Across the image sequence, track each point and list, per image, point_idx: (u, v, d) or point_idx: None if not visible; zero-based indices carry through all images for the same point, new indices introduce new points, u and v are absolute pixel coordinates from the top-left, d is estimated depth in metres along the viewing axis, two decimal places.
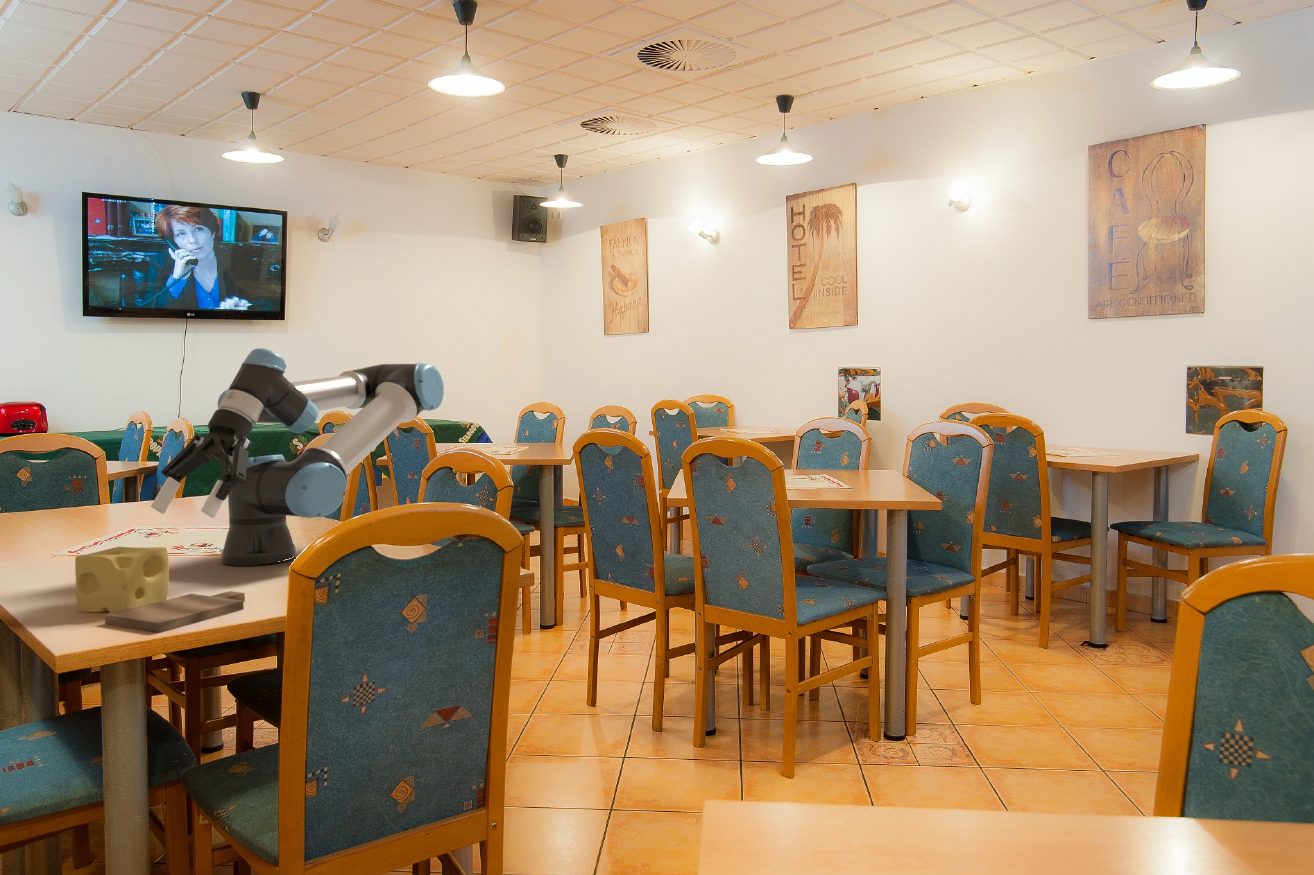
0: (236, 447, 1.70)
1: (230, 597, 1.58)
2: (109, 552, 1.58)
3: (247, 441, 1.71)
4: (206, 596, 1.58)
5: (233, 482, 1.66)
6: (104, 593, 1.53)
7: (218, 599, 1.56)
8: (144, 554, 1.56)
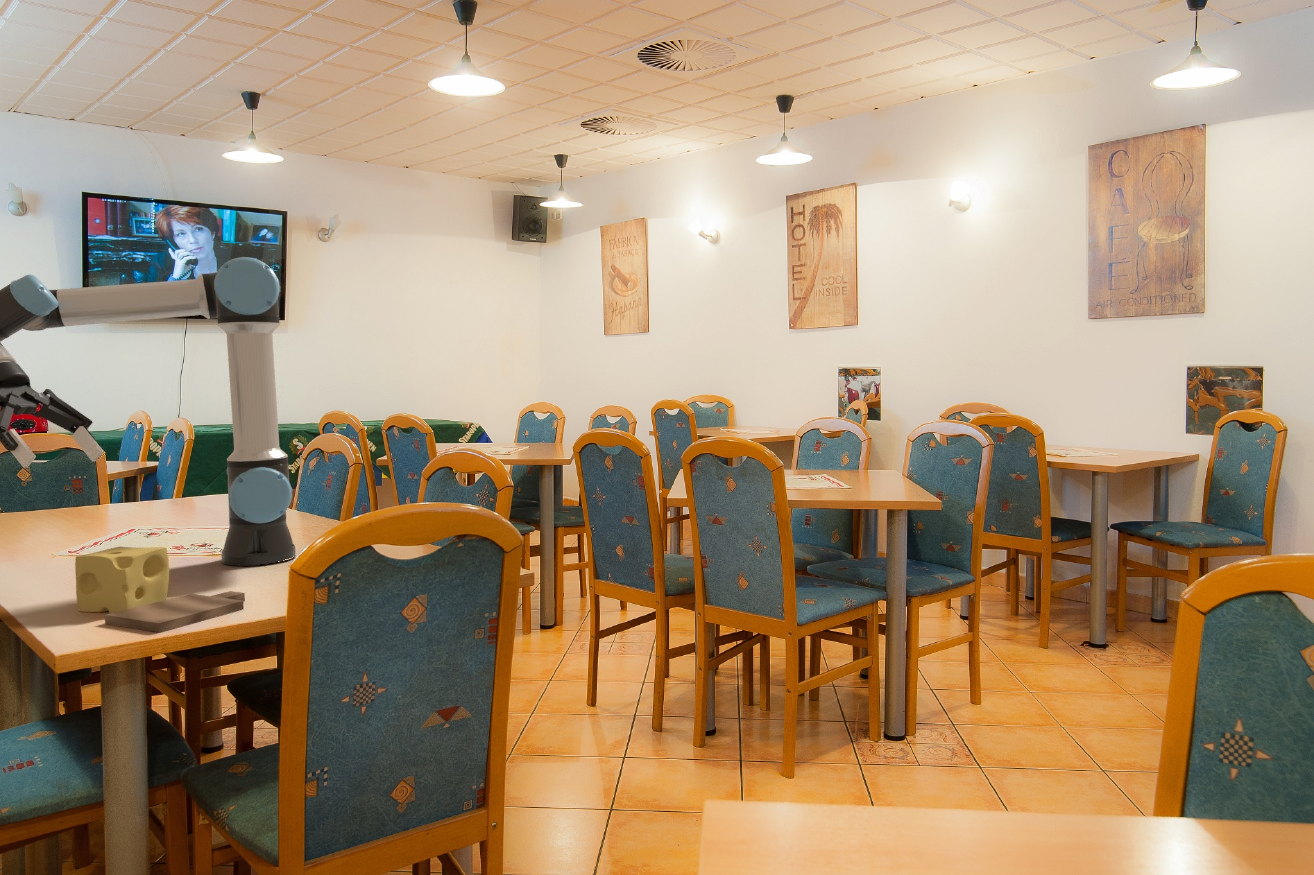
0: None
1: (230, 597, 1.58)
2: (109, 552, 1.58)
3: None
4: (206, 596, 1.58)
5: None
6: (104, 592, 1.53)
7: (218, 599, 1.56)
8: (144, 554, 1.56)
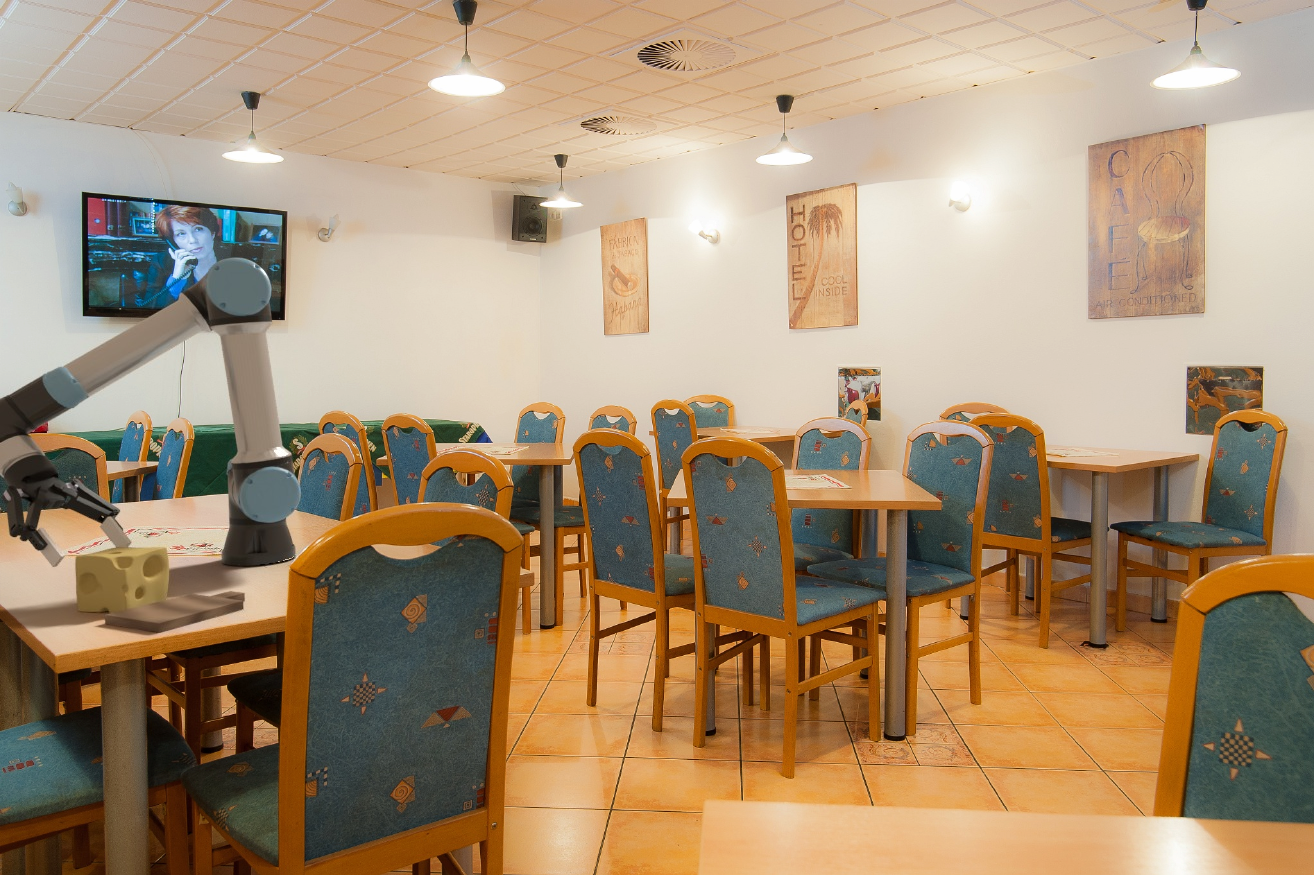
0: None
1: (230, 597, 1.58)
2: (109, 552, 1.58)
3: (5, 493, 1.53)
4: (206, 596, 1.58)
5: (24, 532, 1.50)
6: (104, 592, 1.53)
7: (218, 599, 1.56)
8: (144, 554, 1.56)
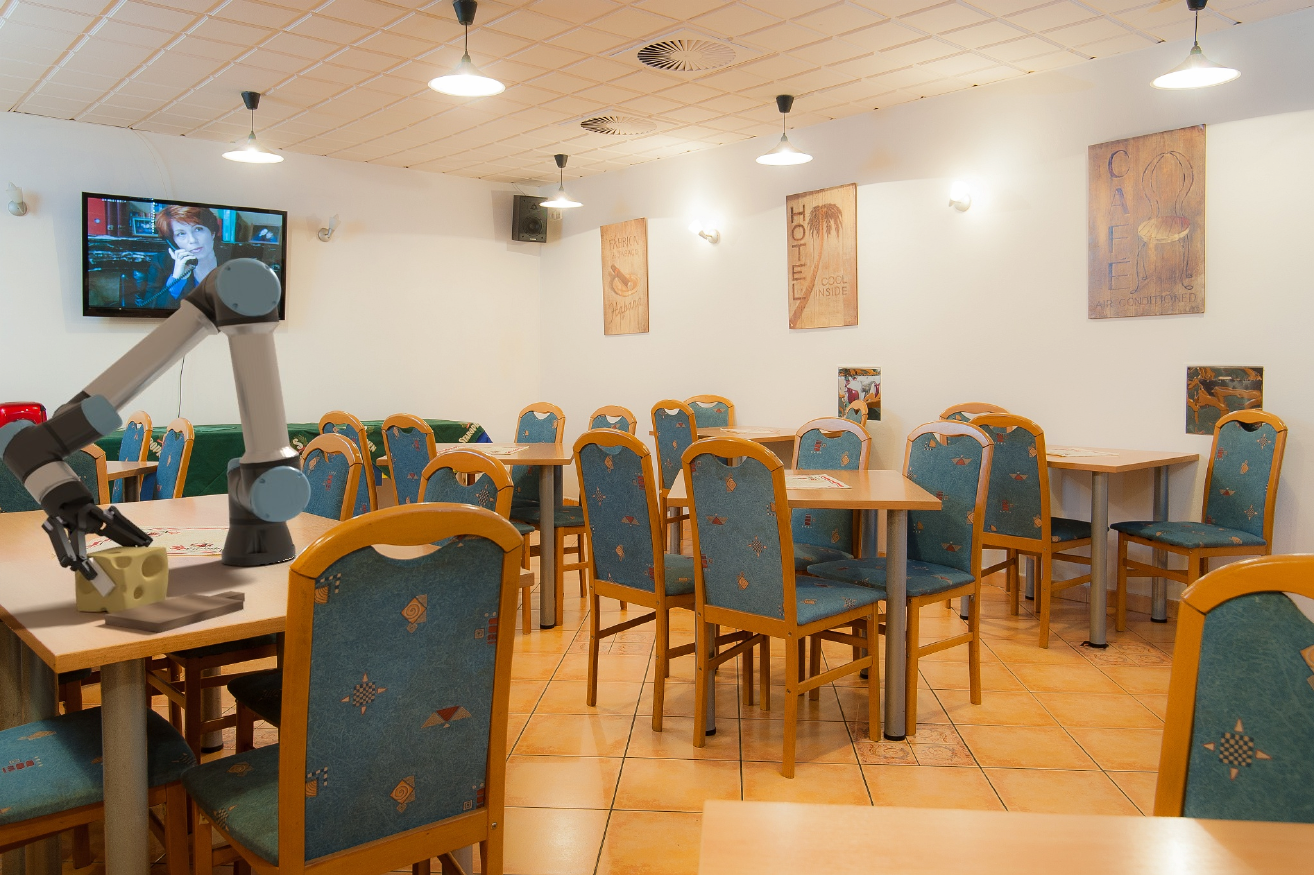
0: None
1: (230, 597, 1.58)
2: (108, 552, 1.57)
3: (45, 523, 1.52)
4: (206, 596, 1.58)
5: (75, 563, 1.50)
6: None
7: (218, 599, 1.56)
8: (143, 554, 1.56)
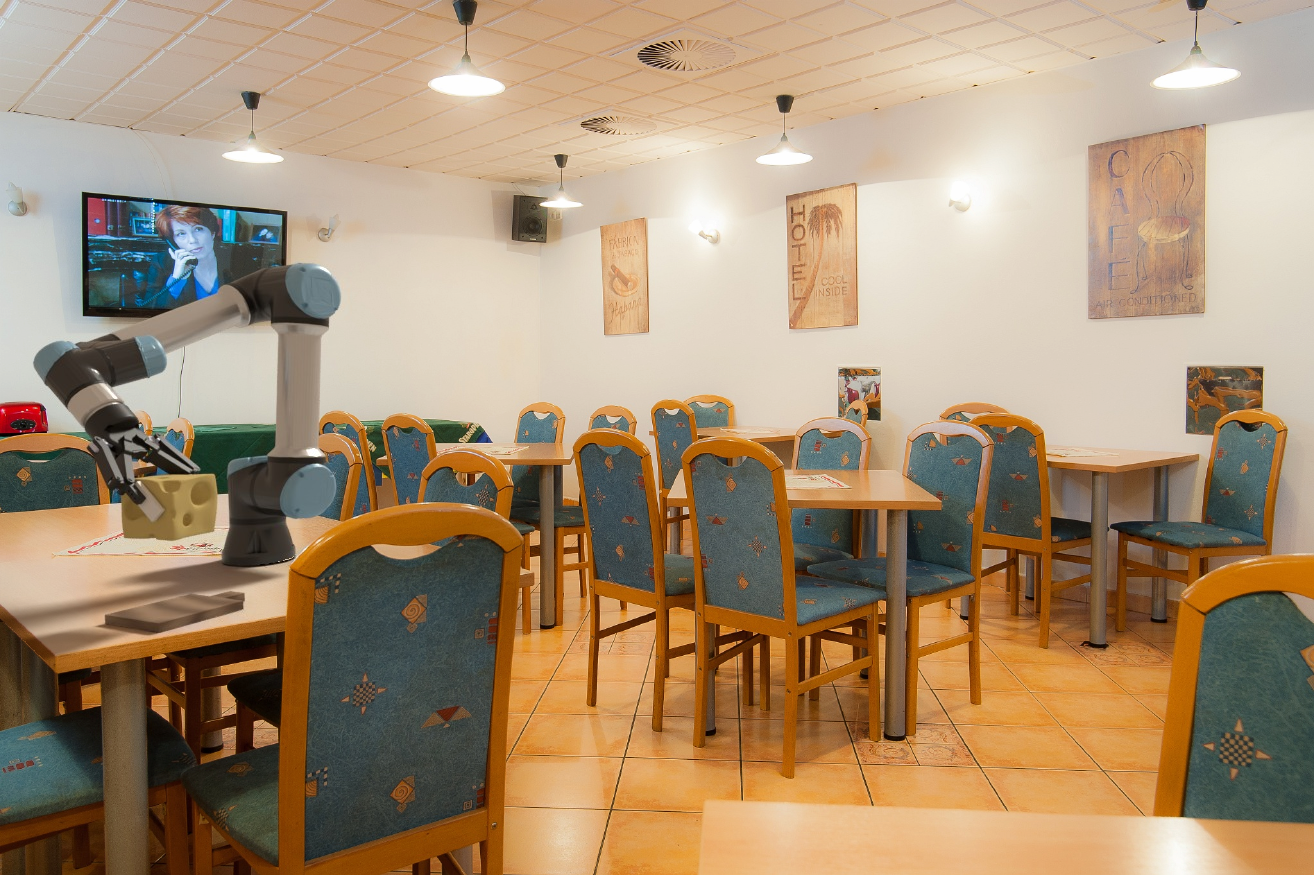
0: None
1: (230, 597, 1.58)
2: (155, 477, 1.50)
3: (91, 444, 1.44)
4: (206, 596, 1.58)
5: (122, 486, 1.43)
6: None
7: (218, 599, 1.56)
8: (192, 479, 1.48)
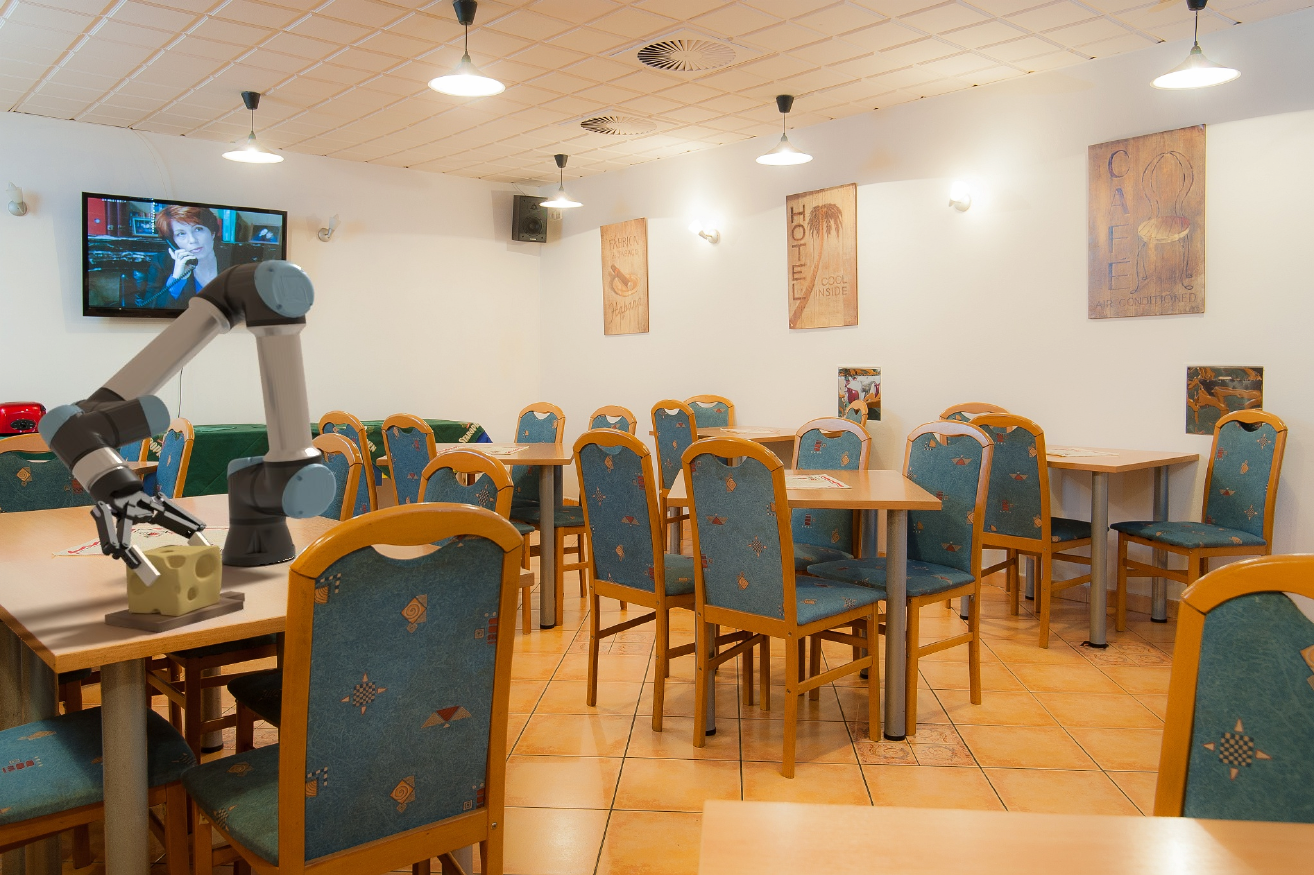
0: None
1: (230, 597, 1.58)
2: (160, 550, 1.50)
3: (94, 509, 1.45)
4: None
5: (118, 551, 1.42)
6: (156, 593, 1.45)
7: None
8: (197, 553, 1.48)
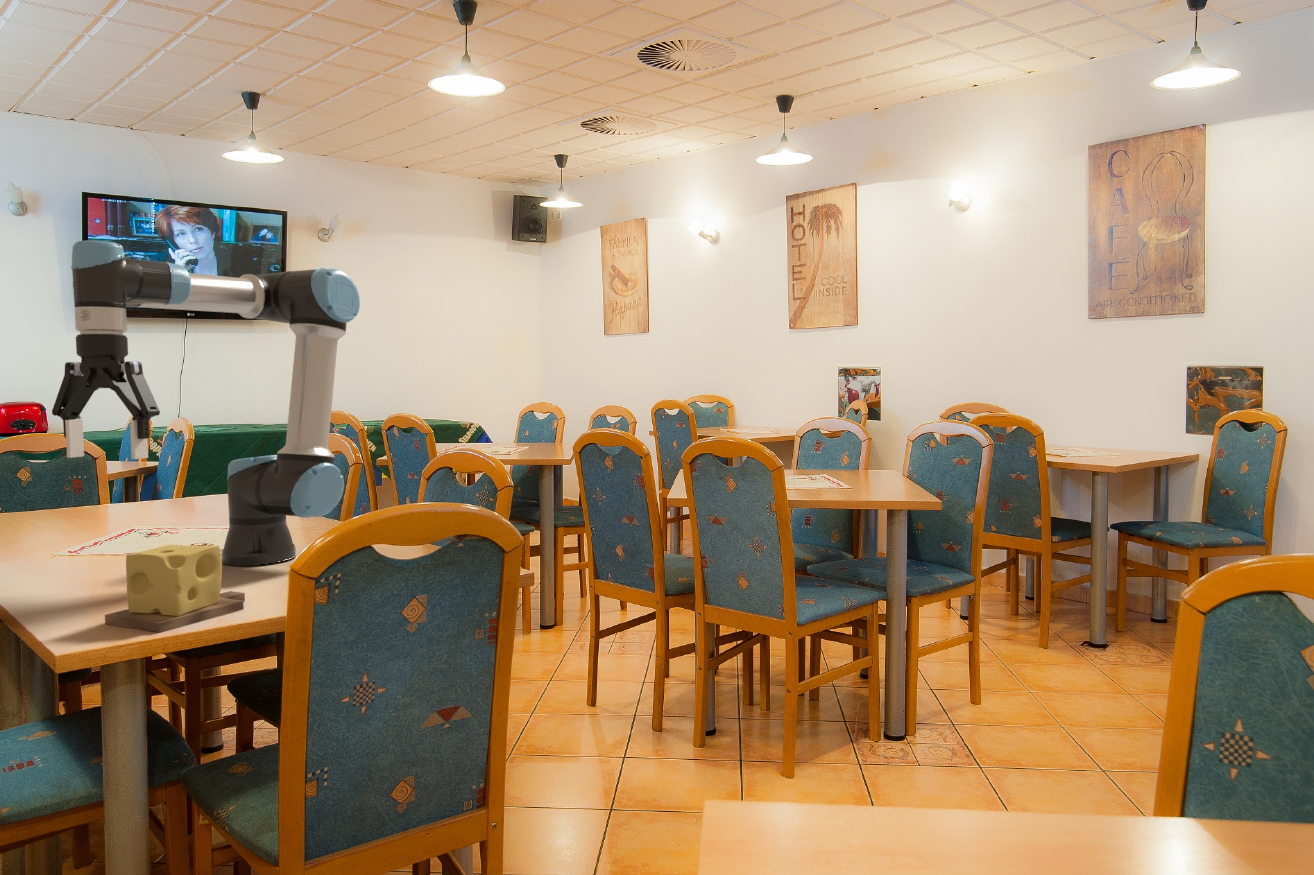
0: (128, 377, 1.50)
1: (230, 597, 1.58)
2: (160, 550, 1.50)
3: (135, 364, 1.51)
4: None
5: (148, 417, 1.51)
6: (156, 593, 1.45)
7: None
8: (197, 553, 1.48)
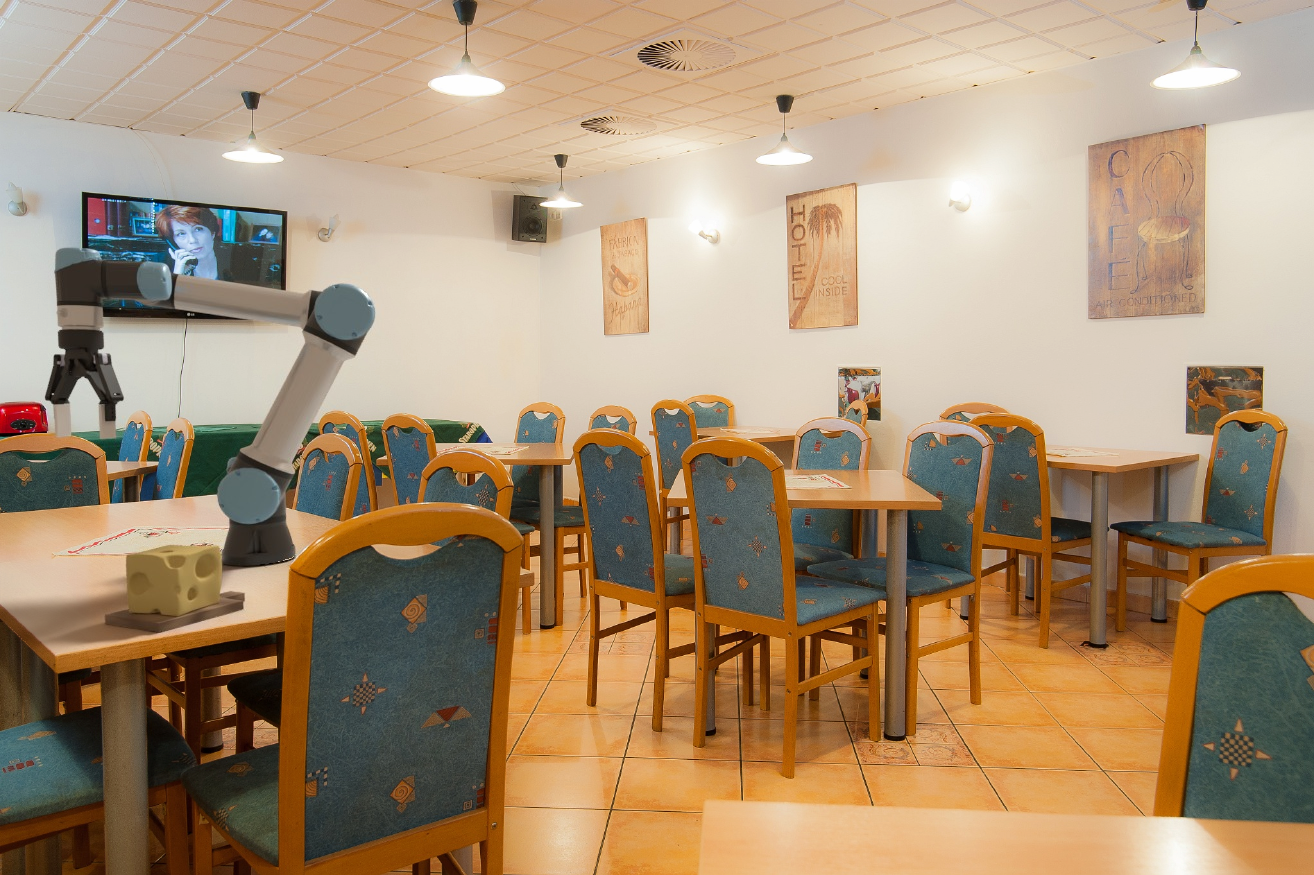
0: (97, 367, 1.71)
1: (230, 597, 1.58)
2: (160, 550, 1.50)
3: (104, 356, 1.71)
4: None
5: (114, 402, 1.71)
6: (156, 593, 1.45)
7: None
8: (197, 553, 1.48)
